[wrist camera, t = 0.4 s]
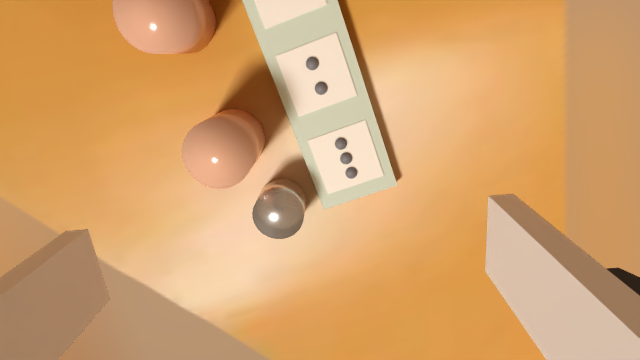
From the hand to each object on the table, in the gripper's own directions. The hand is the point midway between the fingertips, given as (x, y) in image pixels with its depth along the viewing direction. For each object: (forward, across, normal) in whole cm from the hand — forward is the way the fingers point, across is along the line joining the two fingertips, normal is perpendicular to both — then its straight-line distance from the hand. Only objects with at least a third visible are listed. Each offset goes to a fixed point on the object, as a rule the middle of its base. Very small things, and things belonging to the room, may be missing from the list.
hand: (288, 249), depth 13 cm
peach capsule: (+28, -11, +10) cm, 32 cm away
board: (+28, +1, +4) cm, 28 cm away
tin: (+28, -4, -9) cm, 29 cm away
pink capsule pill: (+28, -8, -2) cm, 29 cm away
